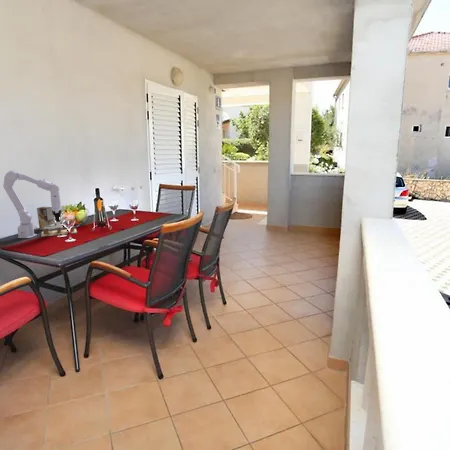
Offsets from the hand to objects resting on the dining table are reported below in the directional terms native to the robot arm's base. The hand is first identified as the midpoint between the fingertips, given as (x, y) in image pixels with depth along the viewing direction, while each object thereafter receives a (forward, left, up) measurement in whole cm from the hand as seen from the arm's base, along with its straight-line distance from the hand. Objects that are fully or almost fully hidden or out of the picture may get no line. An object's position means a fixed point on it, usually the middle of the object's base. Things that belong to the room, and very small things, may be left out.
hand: (58, 221), depth 235 cm
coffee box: (+11, +16, -9) cm, 21 cm away
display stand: (0, 0, -8) cm, 8 cm away
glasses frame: (0, 0, -4) cm, 4 cm away
